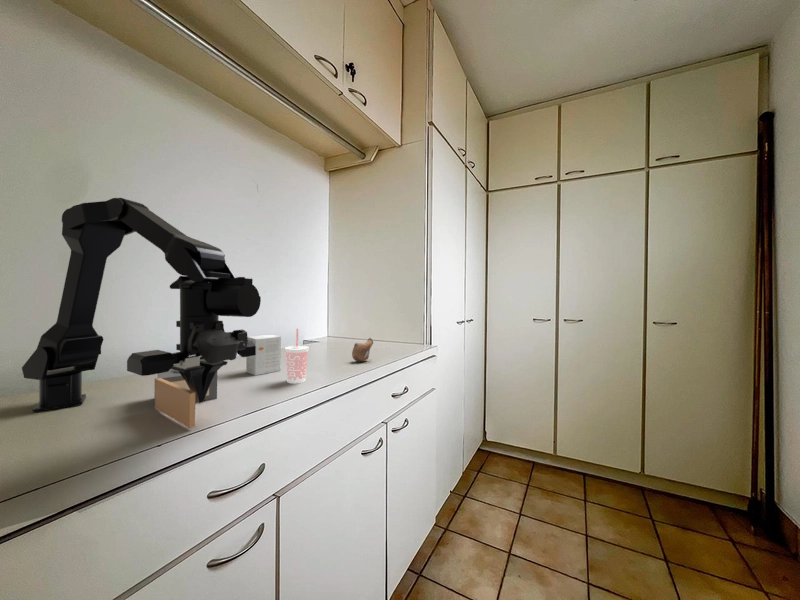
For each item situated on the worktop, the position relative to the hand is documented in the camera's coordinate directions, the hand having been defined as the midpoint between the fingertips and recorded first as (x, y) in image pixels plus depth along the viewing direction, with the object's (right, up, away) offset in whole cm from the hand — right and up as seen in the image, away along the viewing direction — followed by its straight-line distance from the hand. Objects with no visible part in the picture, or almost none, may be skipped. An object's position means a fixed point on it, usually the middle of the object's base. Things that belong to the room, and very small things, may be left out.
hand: (199, 402), depth 54 cm
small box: (-5, -3, +36) cm, 36 cm away
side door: (-6, -3, +1) cm, 7 cm away
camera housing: (-11, -3, +12) cm, 17 cm away
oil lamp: (+23, -4, +53) cm, 58 cm away
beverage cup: (+8, -4, +27) cm, 29 cm away
